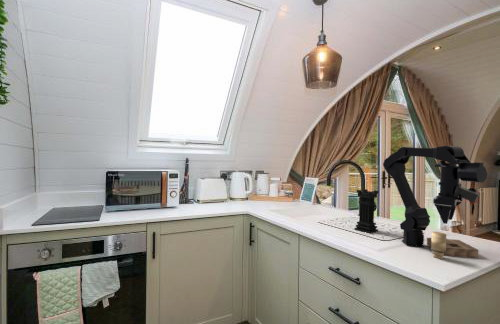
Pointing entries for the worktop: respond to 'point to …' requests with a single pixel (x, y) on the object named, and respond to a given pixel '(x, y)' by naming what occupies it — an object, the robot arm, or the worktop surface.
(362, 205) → the chess piece
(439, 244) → the oak peg
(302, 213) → the worktop surface
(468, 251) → the walnut block
